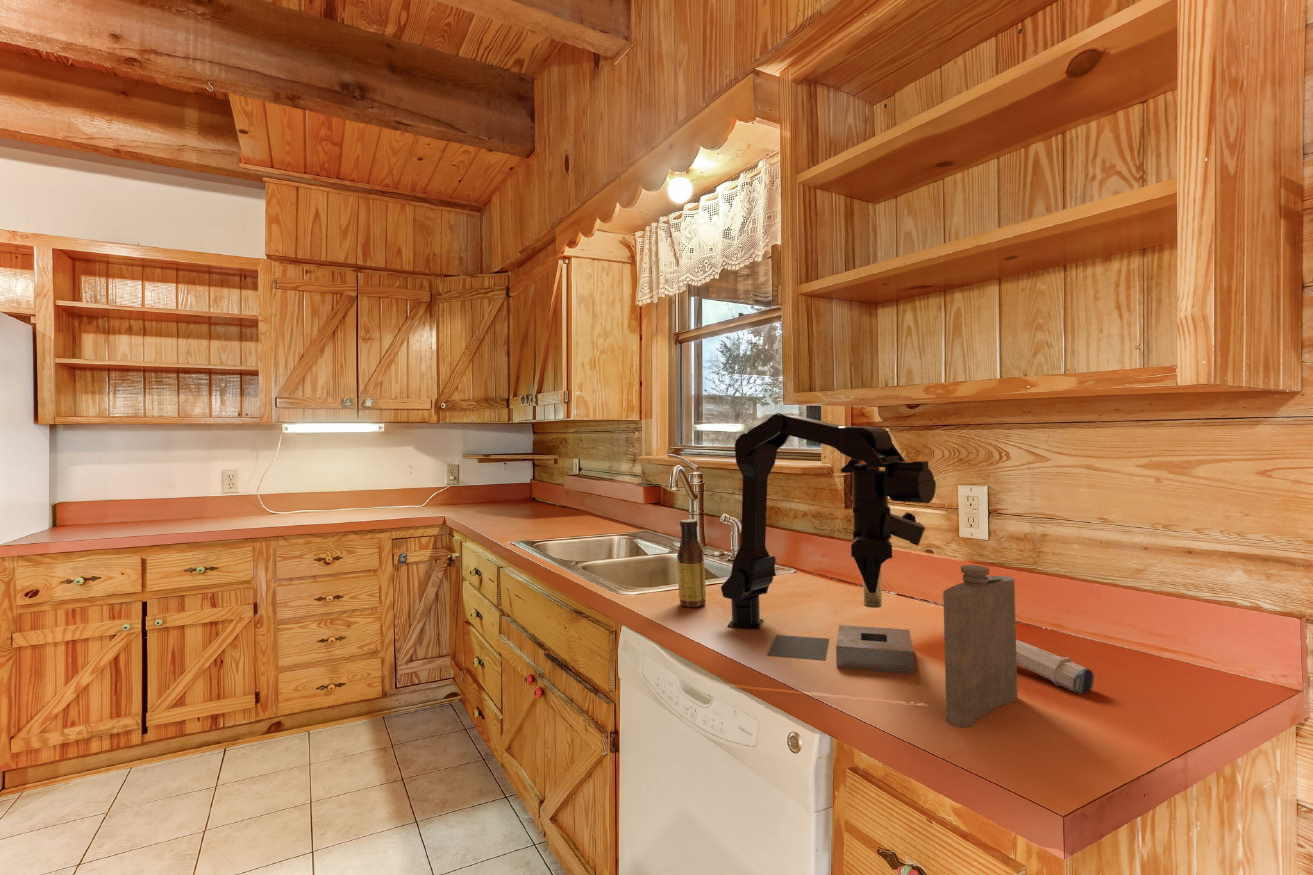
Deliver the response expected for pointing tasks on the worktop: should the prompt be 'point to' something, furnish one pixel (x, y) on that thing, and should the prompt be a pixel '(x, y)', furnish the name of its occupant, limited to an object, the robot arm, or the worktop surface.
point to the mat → (799, 647)
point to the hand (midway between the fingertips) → (872, 590)
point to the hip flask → (979, 645)
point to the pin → (873, 595)
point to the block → (875, 649)
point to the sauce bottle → (691, 566)
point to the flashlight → (1054, 668)
